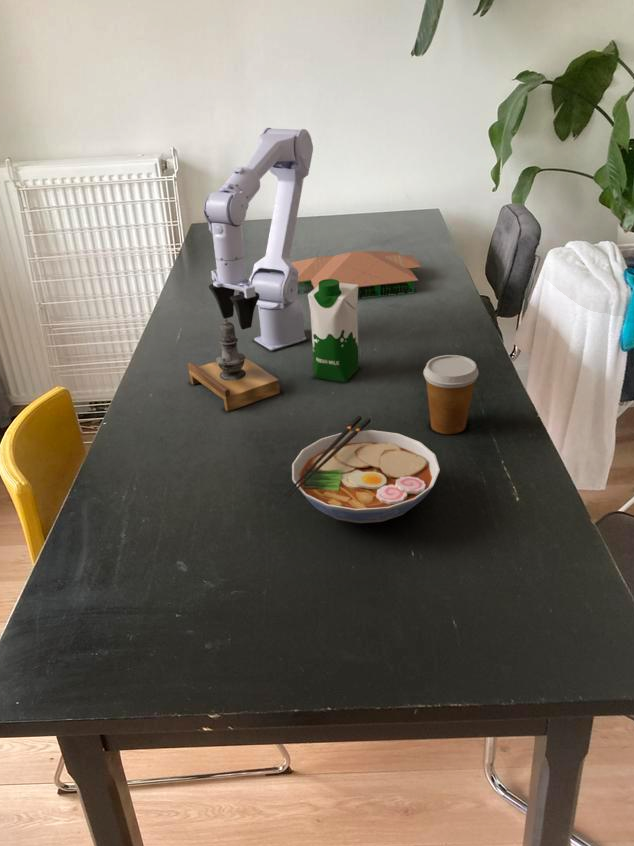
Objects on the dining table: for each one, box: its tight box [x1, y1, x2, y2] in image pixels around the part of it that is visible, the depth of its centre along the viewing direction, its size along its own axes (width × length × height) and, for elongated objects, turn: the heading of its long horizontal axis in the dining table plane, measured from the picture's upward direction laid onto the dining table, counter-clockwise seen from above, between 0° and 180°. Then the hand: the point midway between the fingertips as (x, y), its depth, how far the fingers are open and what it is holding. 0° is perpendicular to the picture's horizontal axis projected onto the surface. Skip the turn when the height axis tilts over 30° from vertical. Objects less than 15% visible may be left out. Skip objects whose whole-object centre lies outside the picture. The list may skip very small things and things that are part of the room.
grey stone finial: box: [215, 318, 247, 381], centre depth 159 cm, size 6×6×12 cm
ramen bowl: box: [284, 415, 441, 524], centre depth 126 cm, size 25×23×8 cm
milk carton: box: [307, 279, 360, 383], centre depth 162 cm, size 9×9×20 cm
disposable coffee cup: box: [422, 354, 480, 435], centre depth 143 cm, size 10×10×12 cm
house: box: [290, 250, 422, 299], centre depth 207 cm, size 23×33×8 cm
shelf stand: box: [187, 357, 281, 412], centre depth 163 cm, size 12×16×4 cm
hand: (237, 322), depth 166 cm, fingers open, 7 cm apart
